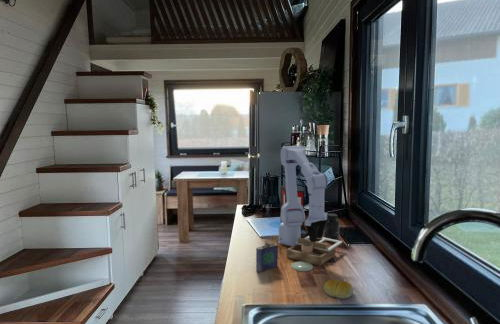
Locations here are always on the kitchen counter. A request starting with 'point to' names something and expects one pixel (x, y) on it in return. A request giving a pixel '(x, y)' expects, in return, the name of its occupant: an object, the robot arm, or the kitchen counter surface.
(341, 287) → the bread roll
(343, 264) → the kitchen counter surface
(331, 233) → the supplement bottle
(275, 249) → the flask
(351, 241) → the kitchen counter surface
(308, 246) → the brown cylinder
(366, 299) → the kitchen counter surface
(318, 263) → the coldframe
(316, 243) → the frame
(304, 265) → the saucer
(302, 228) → the cleaning product box
